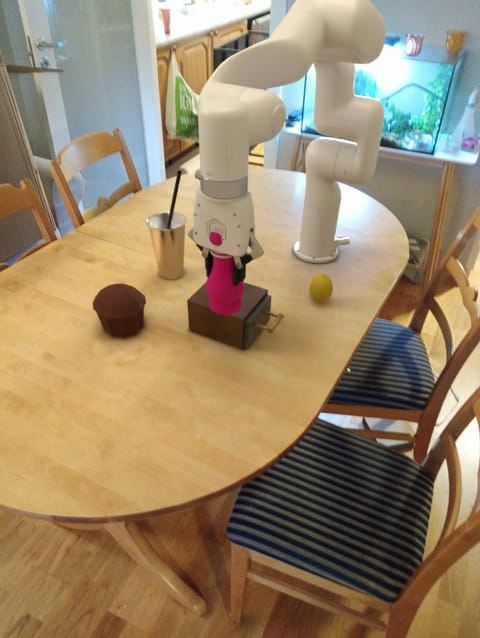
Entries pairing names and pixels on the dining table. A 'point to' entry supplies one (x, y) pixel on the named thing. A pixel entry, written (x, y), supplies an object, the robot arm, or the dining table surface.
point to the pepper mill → (223, 281)
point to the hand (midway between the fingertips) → (225, 277)
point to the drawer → (260, 321)
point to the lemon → (321, 288)
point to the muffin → (120, 309)
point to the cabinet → (222, 316)
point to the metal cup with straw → (169, 238)
